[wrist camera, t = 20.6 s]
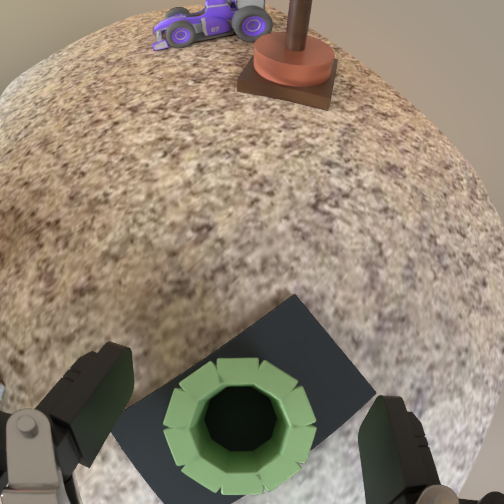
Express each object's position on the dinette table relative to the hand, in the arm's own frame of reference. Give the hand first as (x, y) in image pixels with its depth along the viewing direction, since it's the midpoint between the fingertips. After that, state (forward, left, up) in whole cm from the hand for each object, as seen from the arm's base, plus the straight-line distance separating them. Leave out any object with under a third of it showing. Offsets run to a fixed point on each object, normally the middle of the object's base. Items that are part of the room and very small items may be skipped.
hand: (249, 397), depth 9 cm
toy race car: (+17, -39, -9) cm, 43 cm away
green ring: (0, +1, -8) cm, 8 cm away
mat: (0, +1, -8) cm, 9 cm away
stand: (+4, -30, -8) cm, 31 cm away
